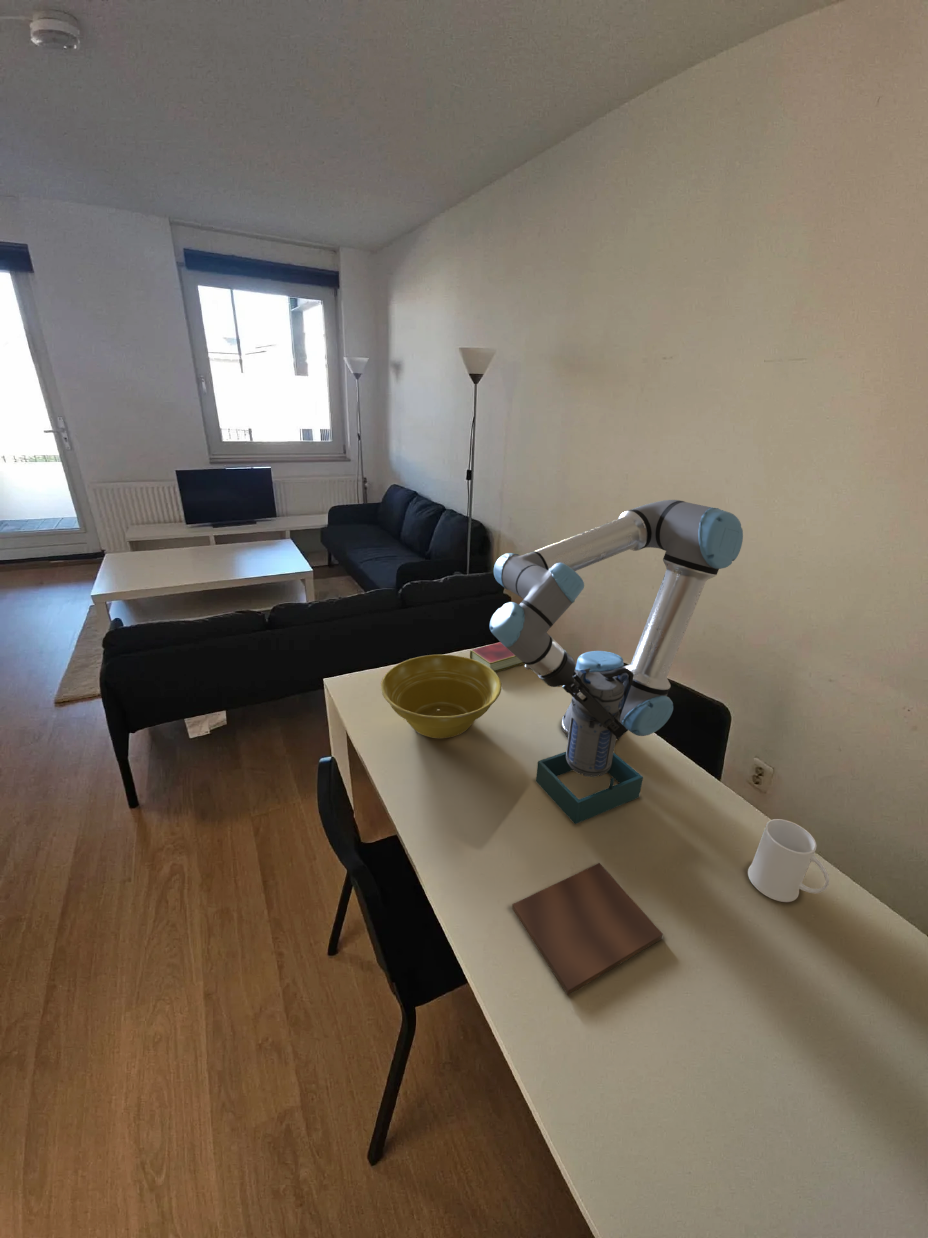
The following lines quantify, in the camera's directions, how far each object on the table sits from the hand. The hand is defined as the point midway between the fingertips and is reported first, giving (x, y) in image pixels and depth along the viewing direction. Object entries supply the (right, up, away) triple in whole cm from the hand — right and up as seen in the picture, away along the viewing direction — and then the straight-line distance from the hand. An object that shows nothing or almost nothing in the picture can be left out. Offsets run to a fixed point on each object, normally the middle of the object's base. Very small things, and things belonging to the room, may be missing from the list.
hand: (610, 718), depth 111 cm
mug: (+28, -29, -16) cm, 43 cm away
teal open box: (-4, -18, +7) cm, 20 cm away
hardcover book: (-18, +8, +65) cm, 68 cm away
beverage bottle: (-3, -11, +4) cm, 12 cm away
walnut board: (-11, -31, -24) cm, 40 cm away
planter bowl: (-39, -7, +29) cm, 49 cm away
